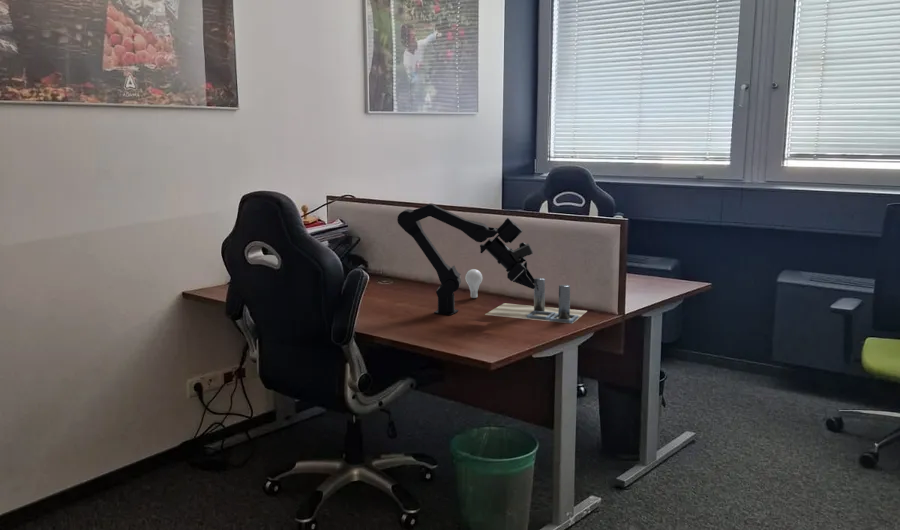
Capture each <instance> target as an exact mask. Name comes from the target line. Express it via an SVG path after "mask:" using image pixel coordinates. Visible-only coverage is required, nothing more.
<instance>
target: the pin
mask: <svg viewBox="0 0 900 530" xmlns="http://www.w3.org/2000/svg"><path fill="white" fill-rule="evenodd" d="M533 278H534V285H535V288H534V289H533V306H534V310H535V311H545V307H546V301H545V299H546V296H545V295H546V278H544V277H533Z"/></svg>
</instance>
